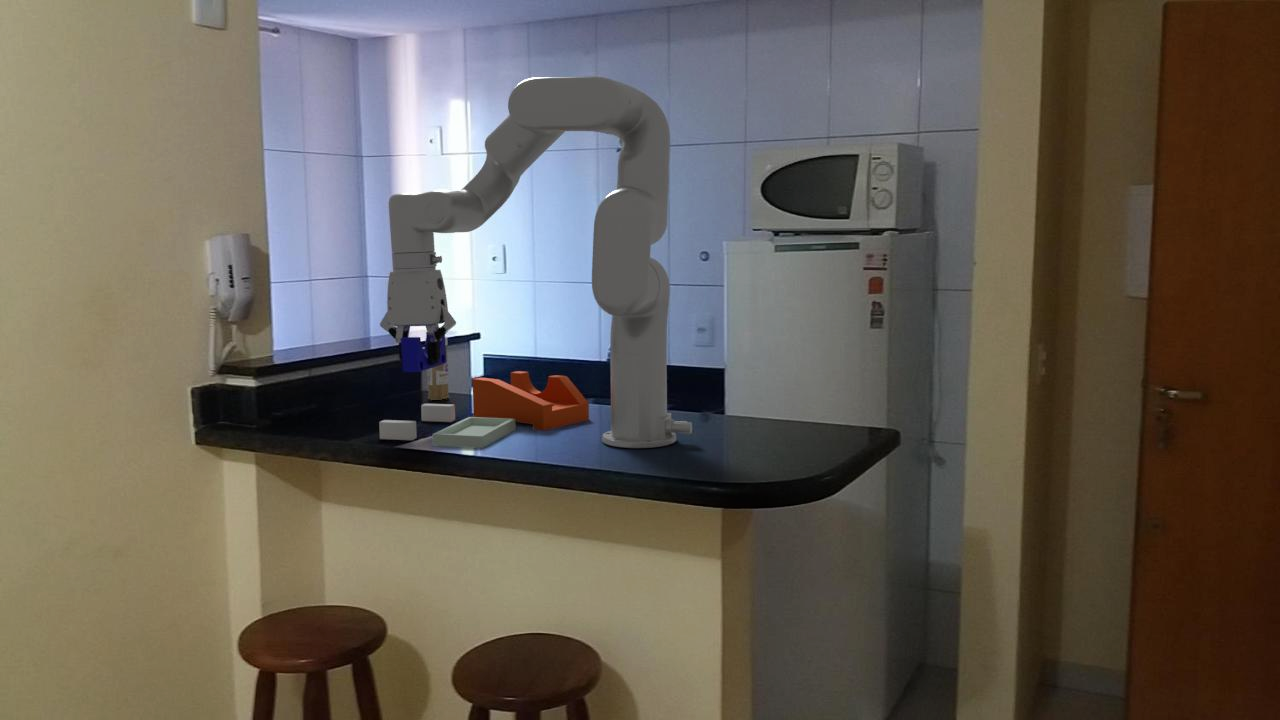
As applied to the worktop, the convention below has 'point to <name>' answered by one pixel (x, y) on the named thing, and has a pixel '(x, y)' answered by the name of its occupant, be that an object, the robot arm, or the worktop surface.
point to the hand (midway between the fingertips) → (420, 362)
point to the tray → (474, 432)
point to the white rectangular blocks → (408, 428)
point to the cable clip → (419, 354)
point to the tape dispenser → (530, 401)
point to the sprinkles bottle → (438, 380)
